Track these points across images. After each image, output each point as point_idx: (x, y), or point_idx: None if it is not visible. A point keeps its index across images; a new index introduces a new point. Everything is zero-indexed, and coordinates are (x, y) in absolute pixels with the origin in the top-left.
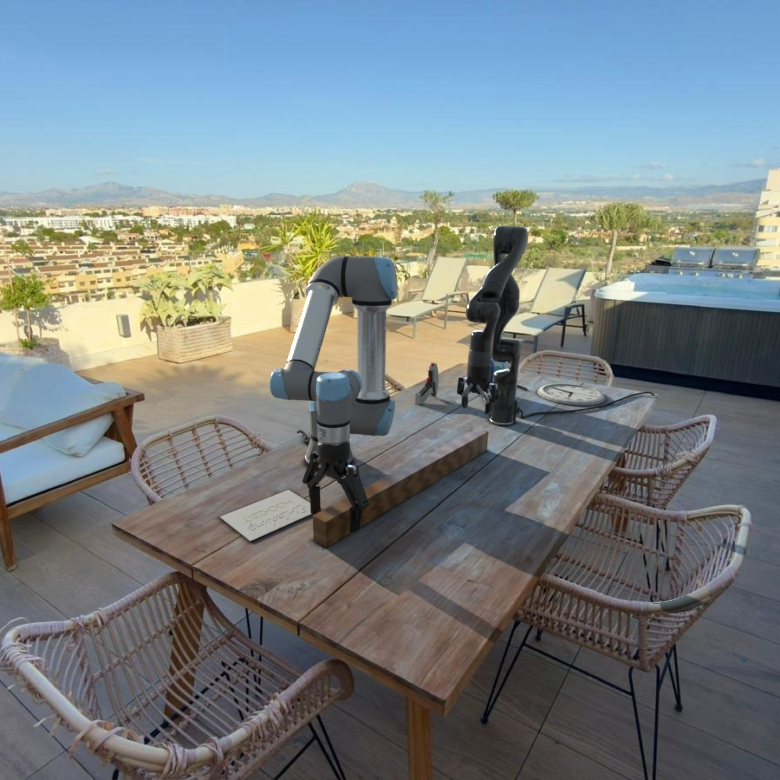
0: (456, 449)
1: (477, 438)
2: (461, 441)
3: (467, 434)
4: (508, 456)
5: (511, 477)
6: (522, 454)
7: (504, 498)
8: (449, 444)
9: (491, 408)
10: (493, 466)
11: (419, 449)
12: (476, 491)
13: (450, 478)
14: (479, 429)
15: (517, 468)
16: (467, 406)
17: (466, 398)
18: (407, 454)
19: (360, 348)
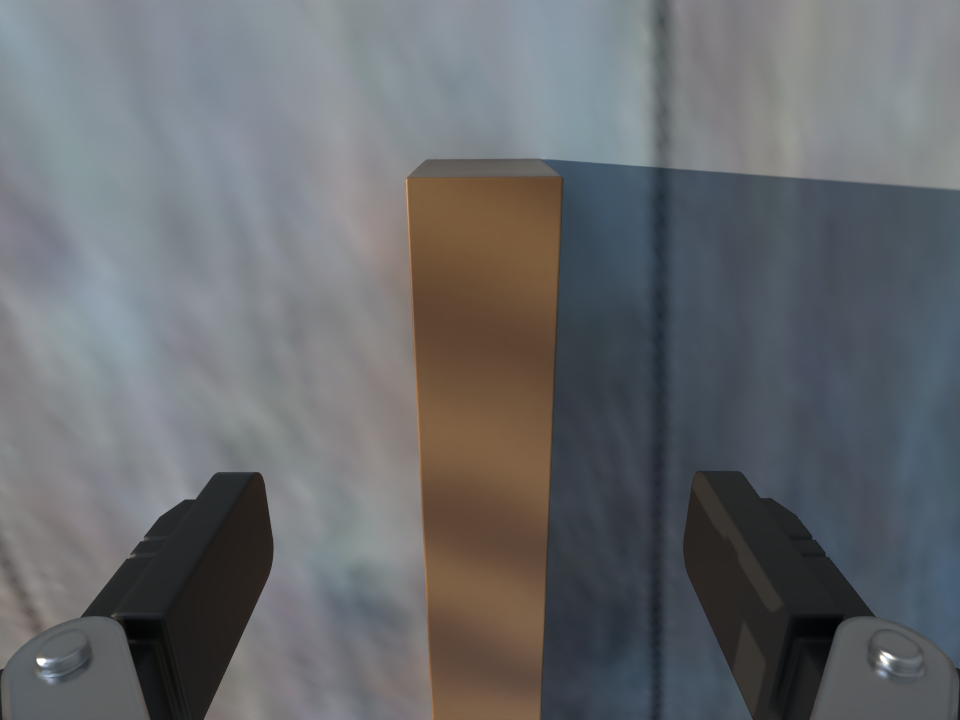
0: (541, 692)
1: (552, 403)
2: (488, 569)
3: (433, 407)
4: (750, 150)
5: (878, 454)
6: (850, 10)
7: None
8: (448, 665)
9: (817, 548)
10: (714, 392)
11: (158, 494)
12: None
13: (568, 666)
14: (449, 196)
15: (881, 309)
16: (257, 473)
17: (195, 659)
18: None
19: None
